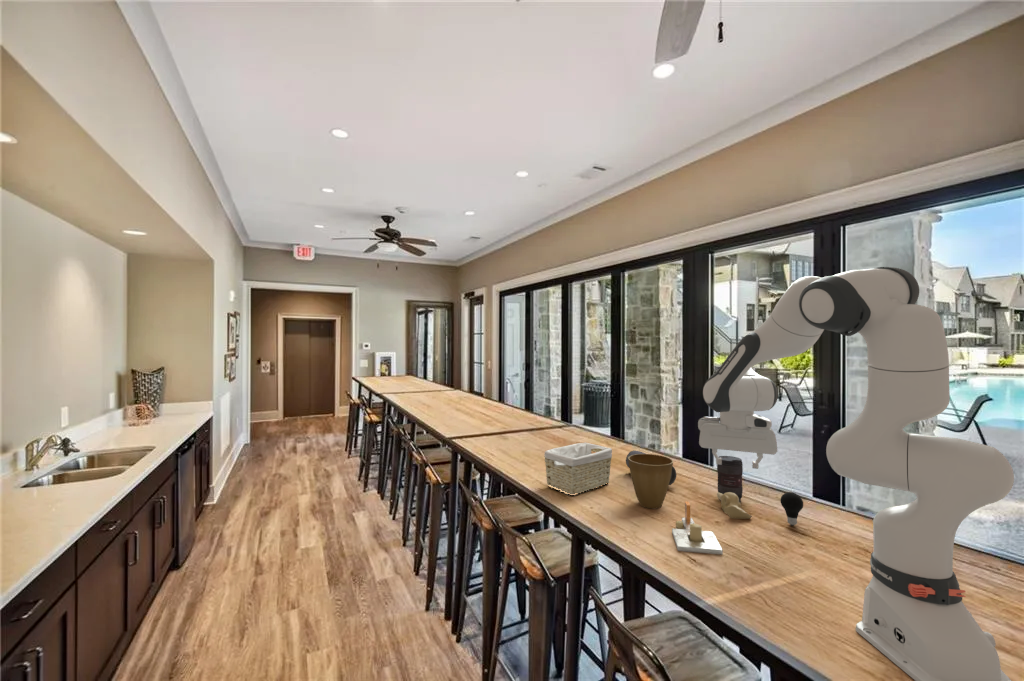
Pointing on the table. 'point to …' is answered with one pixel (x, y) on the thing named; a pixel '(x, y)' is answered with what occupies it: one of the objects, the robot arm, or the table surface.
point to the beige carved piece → (732, 506)
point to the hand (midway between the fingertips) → (736, 466)
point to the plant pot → (650, 478)
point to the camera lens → (730, 475)
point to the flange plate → (684, 544)
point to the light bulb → (791, 506)
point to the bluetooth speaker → (673, 473)
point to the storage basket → (578, 467)
